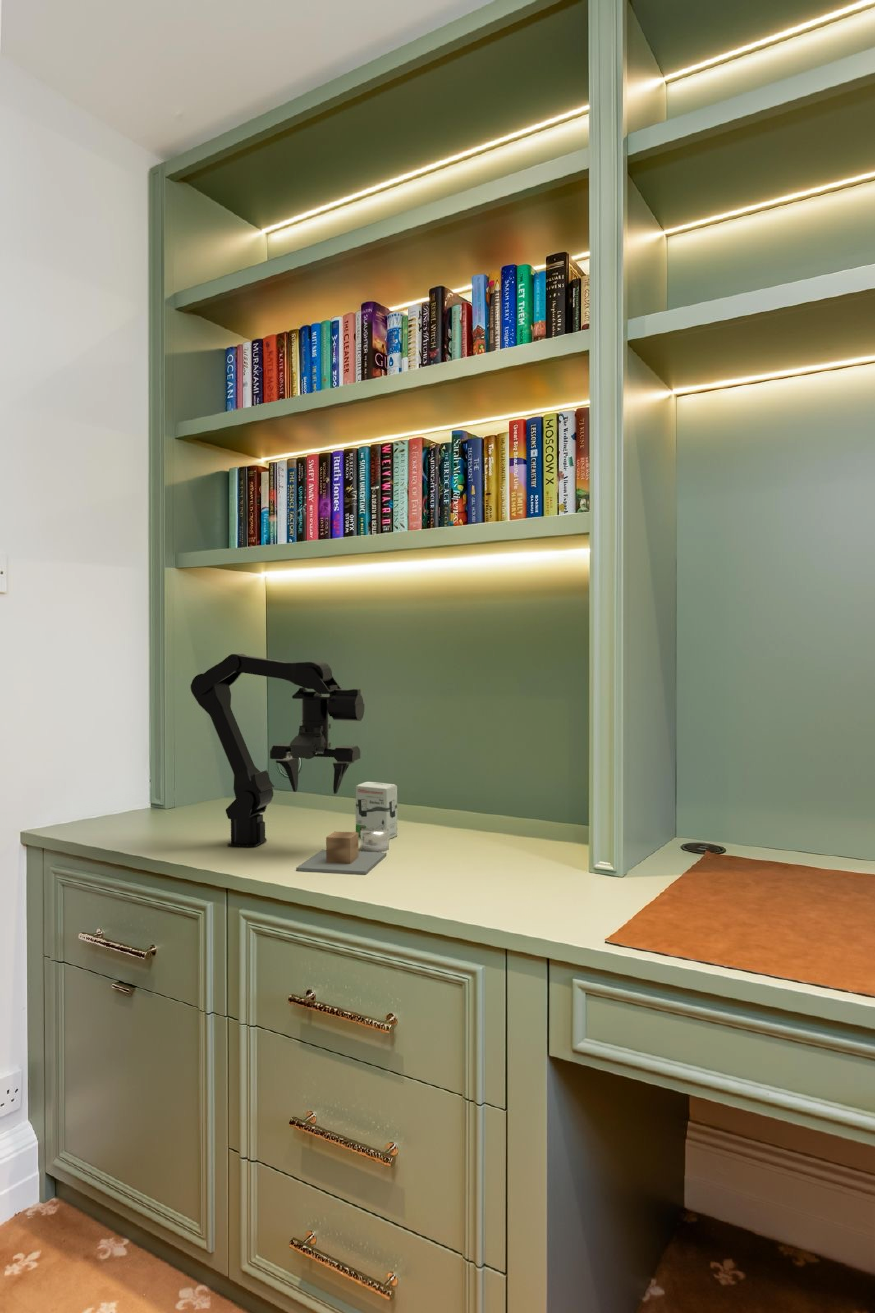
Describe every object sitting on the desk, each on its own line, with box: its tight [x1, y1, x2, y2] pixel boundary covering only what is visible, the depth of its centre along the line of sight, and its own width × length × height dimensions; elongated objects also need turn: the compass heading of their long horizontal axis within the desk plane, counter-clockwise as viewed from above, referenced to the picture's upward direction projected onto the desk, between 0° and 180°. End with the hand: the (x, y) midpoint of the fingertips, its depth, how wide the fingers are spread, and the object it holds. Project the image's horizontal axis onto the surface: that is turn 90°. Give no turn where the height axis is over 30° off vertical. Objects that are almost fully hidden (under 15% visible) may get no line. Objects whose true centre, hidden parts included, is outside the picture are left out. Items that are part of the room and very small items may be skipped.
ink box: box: [355, 781, 398, 840], centre depth 181 cm, size 9×5×12 cm, turn 62°
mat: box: [295, 849, 387, 875], centre depth 159 cm, size 14×14×1 cm
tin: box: [360, 827, 390, 853], centre depth 170 cm, size 6×6×4 cm
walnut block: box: [325, 831, 360, 864], centre depth 159 cm, size 5×5×5 cm
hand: (315, 792), depth 171 cm, fingers open, 9 cm apart
